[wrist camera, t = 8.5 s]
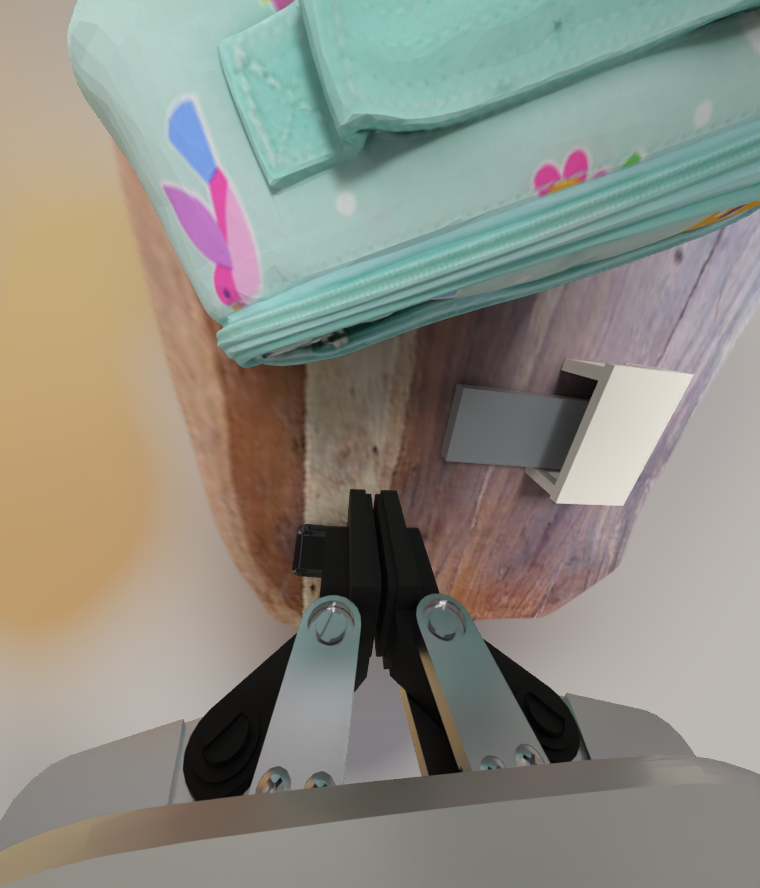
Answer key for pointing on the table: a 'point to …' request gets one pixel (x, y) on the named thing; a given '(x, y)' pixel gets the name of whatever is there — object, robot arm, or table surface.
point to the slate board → (511, 427)
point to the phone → (309, 551)
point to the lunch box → (419, 149)
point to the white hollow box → (613, 432)
